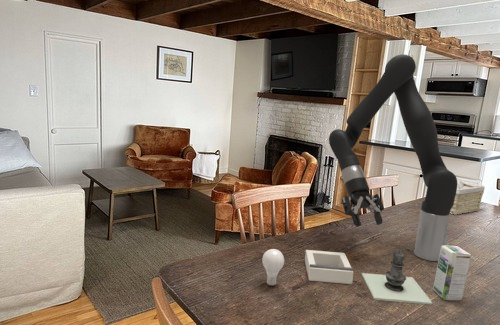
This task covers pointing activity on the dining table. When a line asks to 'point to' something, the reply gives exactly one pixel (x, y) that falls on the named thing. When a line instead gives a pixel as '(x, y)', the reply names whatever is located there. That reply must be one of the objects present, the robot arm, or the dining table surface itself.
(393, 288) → the grey chess piece
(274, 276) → the lightbulb
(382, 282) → the mat
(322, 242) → the dining table surface
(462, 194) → the storage basket
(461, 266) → the syrup box
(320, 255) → the holder
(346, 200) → the robot arm
